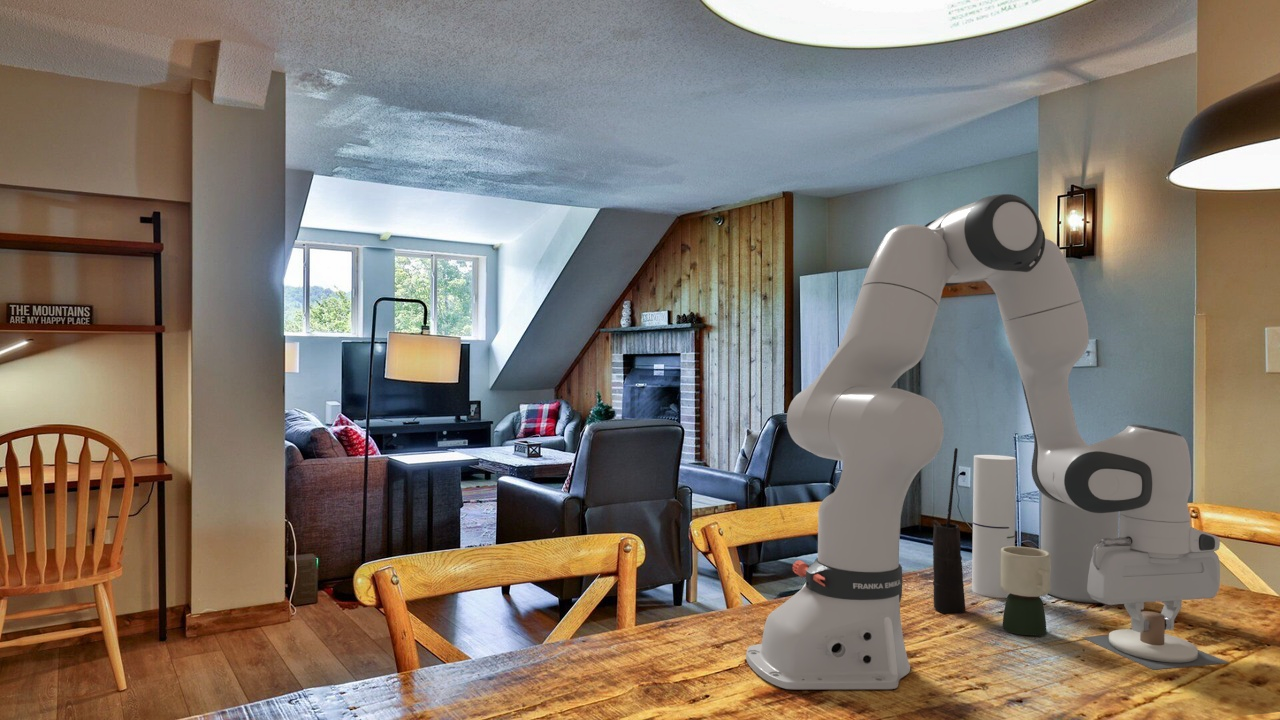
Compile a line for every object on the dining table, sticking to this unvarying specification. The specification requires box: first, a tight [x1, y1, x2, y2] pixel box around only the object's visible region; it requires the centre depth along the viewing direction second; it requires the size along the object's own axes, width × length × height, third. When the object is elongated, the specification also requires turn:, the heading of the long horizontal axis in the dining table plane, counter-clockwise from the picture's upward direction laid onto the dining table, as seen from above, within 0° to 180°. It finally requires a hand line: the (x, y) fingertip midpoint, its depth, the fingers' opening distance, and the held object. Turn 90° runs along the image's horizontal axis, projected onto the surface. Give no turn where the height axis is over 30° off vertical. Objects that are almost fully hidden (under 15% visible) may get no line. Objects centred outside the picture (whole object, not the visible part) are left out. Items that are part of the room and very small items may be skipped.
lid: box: [1108, 610, 1199, 663], centre depth 118 cm, size 11×11×5 cm
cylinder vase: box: [1040, 492, 1120, 604], centre depth 148 cm, size 12×12×25 cm
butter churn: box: [931, 447, 967, 615], centre depth 139 cm, size 9×10×28 cm
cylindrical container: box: [971, 454, 1017, 599], centre depth 149 cm, size 7×7×25 cm
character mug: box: [1001, 546, 1051, 637], centre depth 126 cm, size 11×7×13 cm, turn 10°
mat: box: [1080, 634, 1230, 671], centre depth 118 cm, size 13×13×1 cm
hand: (1152, 630), depth 118 cm, fingers closed on lid, 3 cm apart
